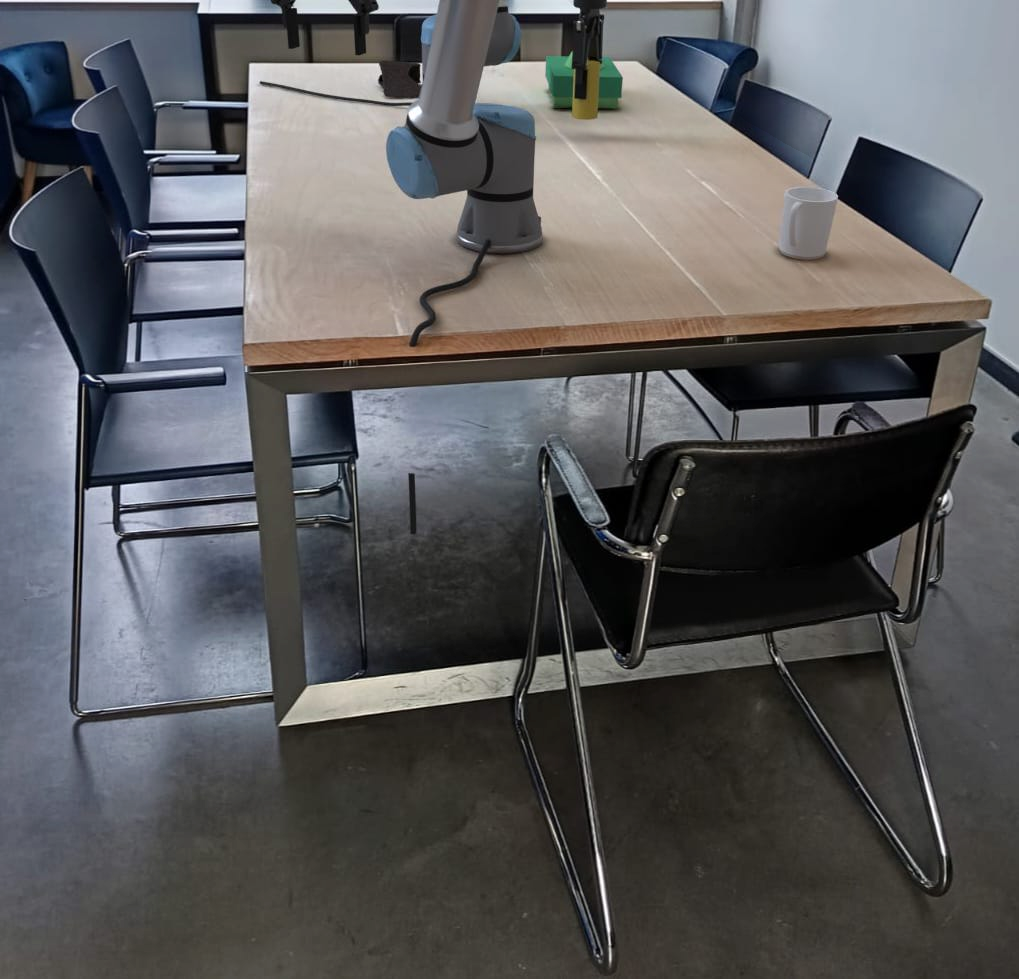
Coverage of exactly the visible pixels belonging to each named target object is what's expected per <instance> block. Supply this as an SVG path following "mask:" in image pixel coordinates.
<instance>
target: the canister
mask: <svg viewBox="0 0 1019 979" xmlns="http://www.w3.org/2000/svg"><path fill="white" fill-rule="evenodd" d="M586 69H588V75H587V96H586V99H585V100H584V99H575V98H574V95H575V71H576V69H574V81H573V105H572V108H571V118H573V119H575V120H583V121H590V120H591V121H592V120H596V119H598V112H599V108H598V95H599V77H600V62H597V61H591V60H587V65H586Z"/></svg>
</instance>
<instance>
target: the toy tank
mask: <svg viewBox="0 0 1019 979" xmlns="http://www.w3.org/2000/svg"><path fill="white" fill-rule="evenodd" d="M572 54H573V50H572V51H571V52H570V54H569V56H567V55H566V56H565V55H564V56H559V55H556V56H555V55H546V56H545V74H544V76H545V79H546V81H547V85H548V86H547V87H548V91H549V92H551V96H552V104H553V108H554V109H572V105H573V81H574V69H572V67H571V66H572ZM587 60H588V59H587ZM601 60H602V64H600V77H599V95H598V109H618V102H619V99H622V93H623V80H624V76H623V75H622V74H621V72H620V70H618V68H617V67H616V64H615V63H614V62H613V60H612V58H611V57H610V56H609V57H608V56H602V59H601Z"/></svg>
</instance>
